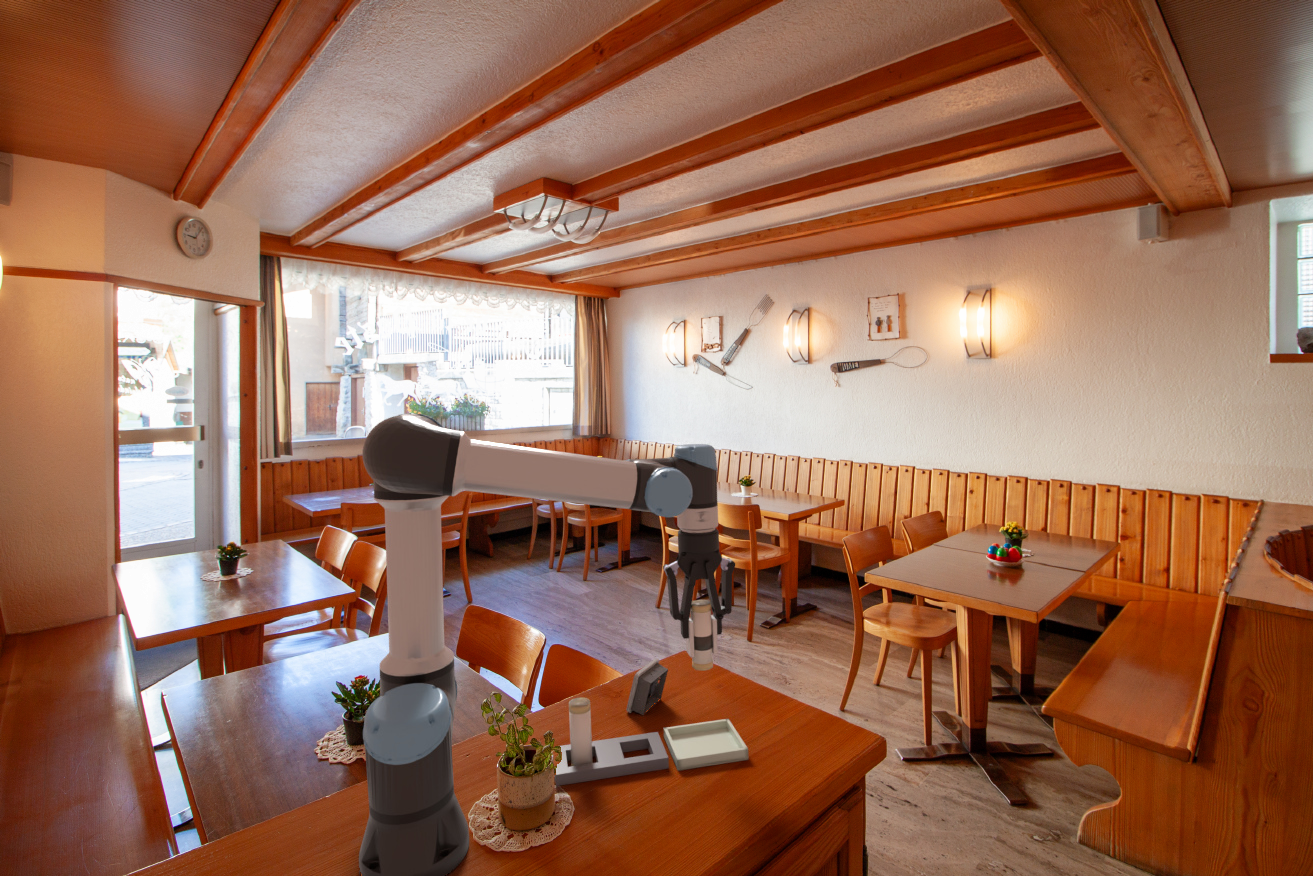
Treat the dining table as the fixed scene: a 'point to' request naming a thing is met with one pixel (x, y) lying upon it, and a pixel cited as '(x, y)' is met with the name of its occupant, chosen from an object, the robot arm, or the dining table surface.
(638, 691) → the electrical switch
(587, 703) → the fuse
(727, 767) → the dining table surface
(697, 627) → the fuse
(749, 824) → the dining table surface
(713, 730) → the parts tray
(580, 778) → the fuse block
